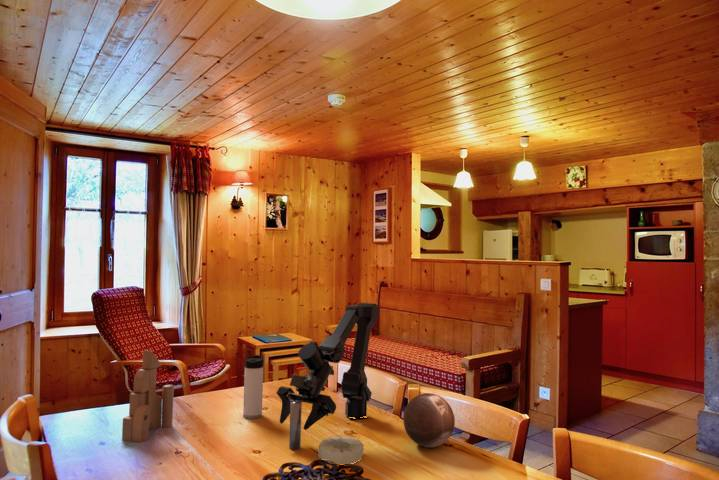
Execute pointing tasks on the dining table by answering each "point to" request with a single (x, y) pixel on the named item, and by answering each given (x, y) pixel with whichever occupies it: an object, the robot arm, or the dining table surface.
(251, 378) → the travel mug
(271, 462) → the dining table surface
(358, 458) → the grey ring
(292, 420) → the metal peg
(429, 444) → the wooden sphere
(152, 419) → the wooden toy
